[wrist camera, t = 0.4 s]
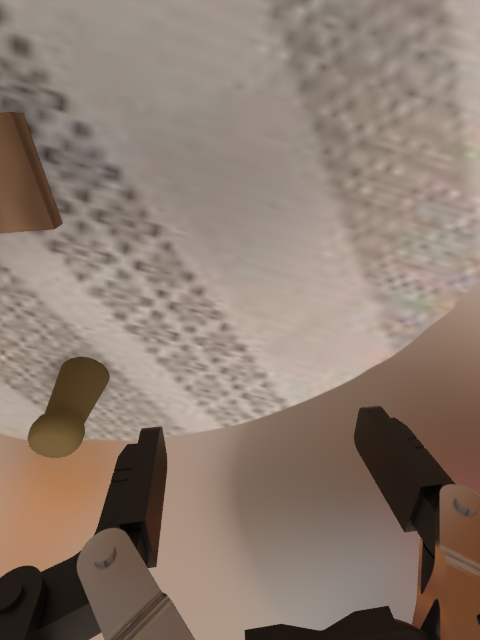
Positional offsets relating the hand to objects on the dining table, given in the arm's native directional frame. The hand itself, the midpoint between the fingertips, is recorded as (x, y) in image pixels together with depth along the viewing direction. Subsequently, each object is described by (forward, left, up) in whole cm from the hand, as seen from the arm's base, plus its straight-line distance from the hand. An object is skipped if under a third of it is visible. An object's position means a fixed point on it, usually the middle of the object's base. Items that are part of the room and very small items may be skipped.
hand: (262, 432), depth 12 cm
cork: (+25, -5, -25) cm, 35 cm away
